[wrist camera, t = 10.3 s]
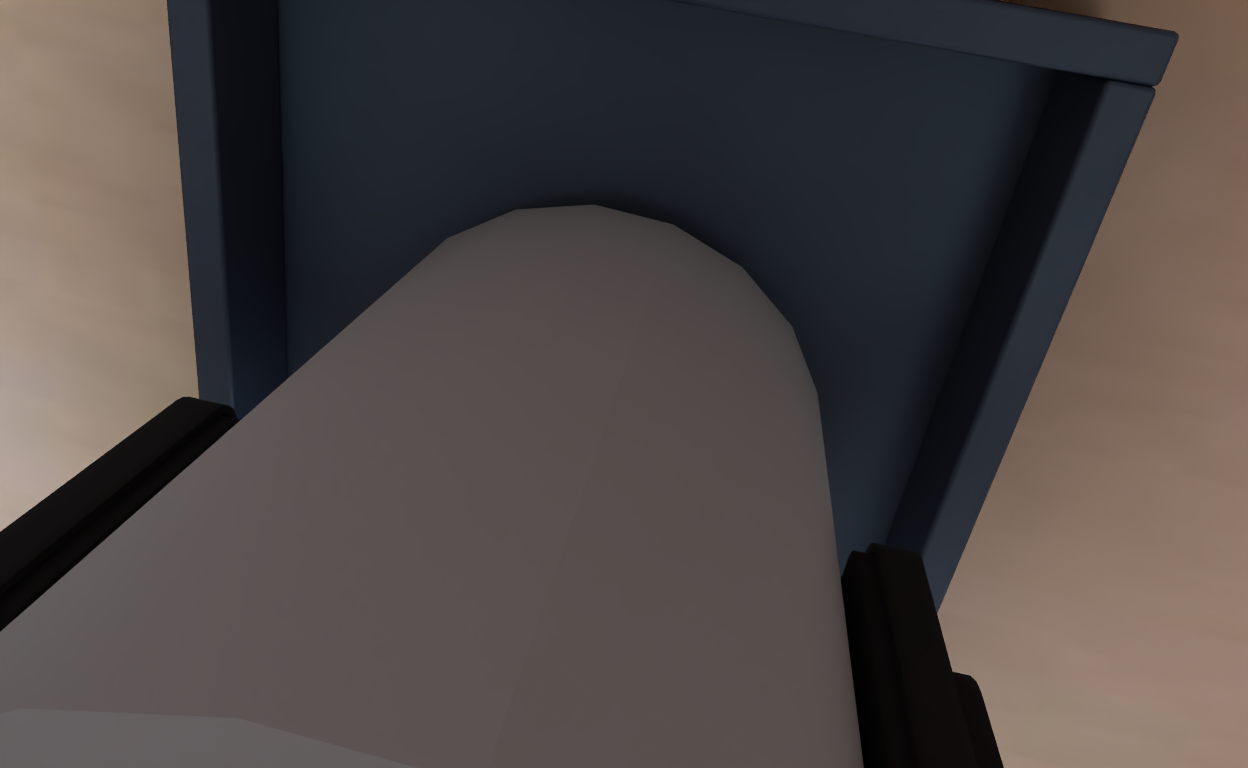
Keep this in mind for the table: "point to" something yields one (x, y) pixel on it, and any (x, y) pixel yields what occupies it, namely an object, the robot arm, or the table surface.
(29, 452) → the table surface
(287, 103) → the charcoal tray
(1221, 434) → the table surface
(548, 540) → the can
